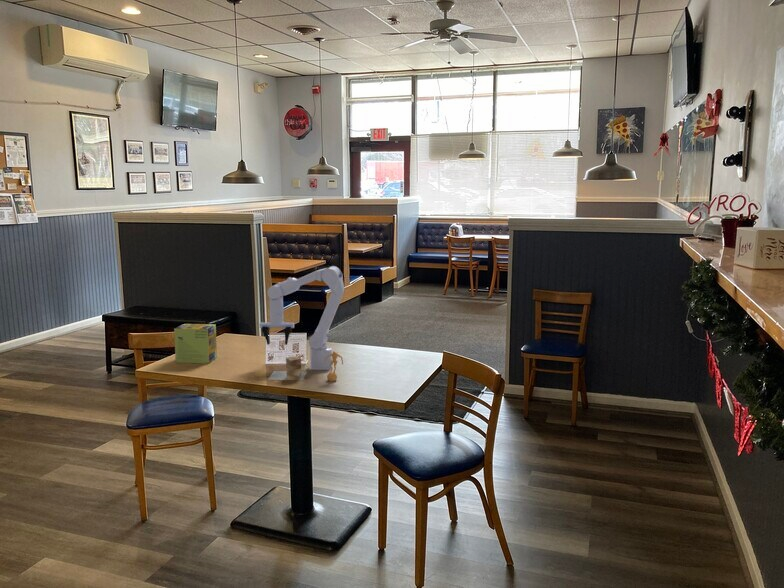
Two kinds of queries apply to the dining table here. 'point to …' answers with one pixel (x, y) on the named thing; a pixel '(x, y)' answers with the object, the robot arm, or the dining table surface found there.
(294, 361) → the walnut block
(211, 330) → the protein box
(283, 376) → the mat
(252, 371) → the dining table surface
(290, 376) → the oak block
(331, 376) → the figurine
